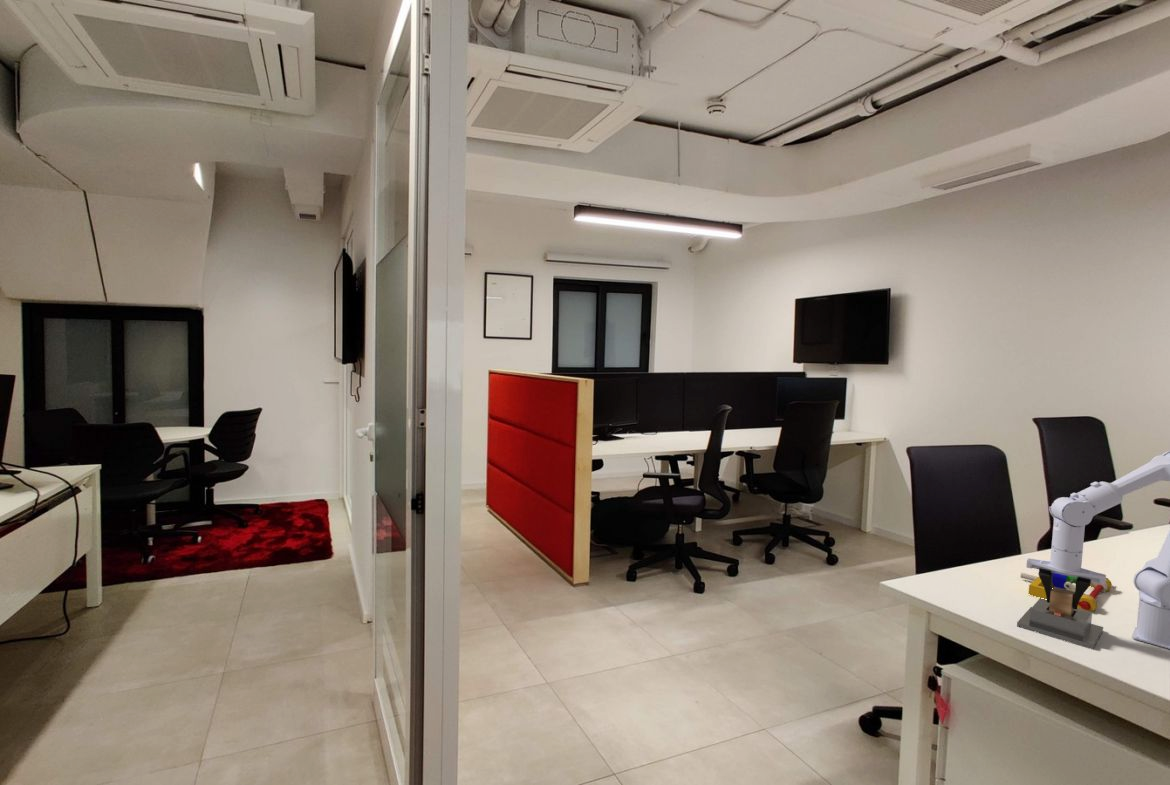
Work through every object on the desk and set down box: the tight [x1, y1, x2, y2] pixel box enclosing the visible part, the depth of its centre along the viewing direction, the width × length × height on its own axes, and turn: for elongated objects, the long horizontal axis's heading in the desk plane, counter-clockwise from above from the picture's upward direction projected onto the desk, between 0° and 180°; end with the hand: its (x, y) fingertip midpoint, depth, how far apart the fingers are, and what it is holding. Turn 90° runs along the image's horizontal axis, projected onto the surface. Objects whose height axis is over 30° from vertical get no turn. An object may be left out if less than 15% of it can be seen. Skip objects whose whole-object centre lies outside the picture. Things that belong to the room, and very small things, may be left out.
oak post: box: [1049, 587, 1075, 617], centre depth 140 cm, size 4×4×8 cm
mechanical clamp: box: [1020, 572, 1113, 613], centre depth 165 cm, size 18×6×30 cm
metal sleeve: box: [1016, 598, 1104, 650], centre depth 140 cm, size 14×14×5 cm
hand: (1061, 604), depth 140 cm, fingers closed on oak post, 4 cm apart
